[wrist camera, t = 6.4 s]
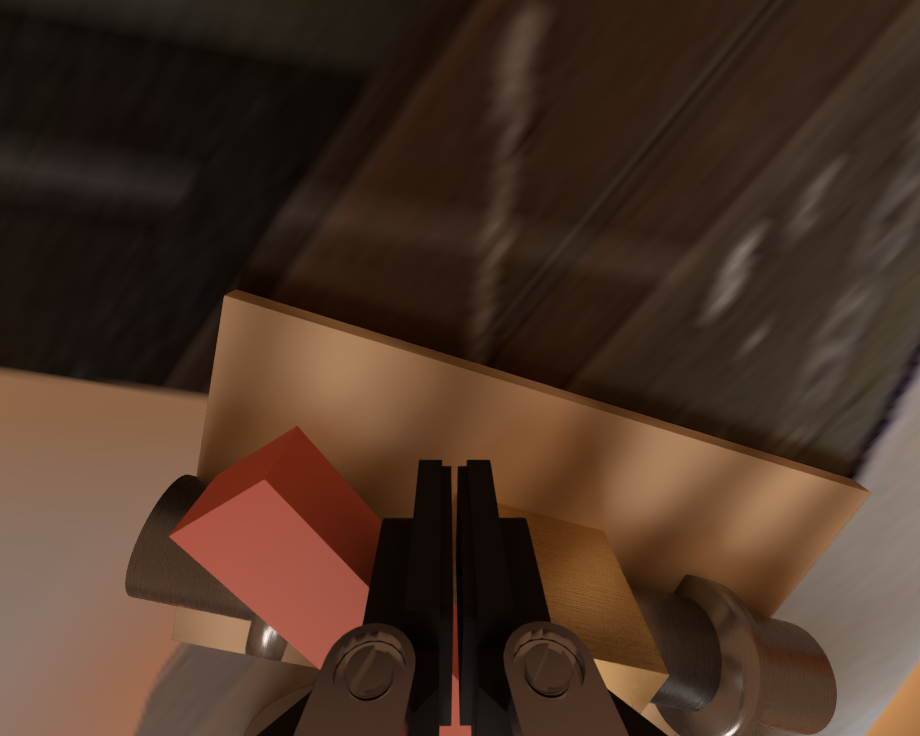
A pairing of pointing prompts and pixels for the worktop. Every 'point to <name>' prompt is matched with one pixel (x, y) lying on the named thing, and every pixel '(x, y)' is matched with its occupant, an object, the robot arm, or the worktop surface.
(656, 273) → the worktop surface
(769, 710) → the valve
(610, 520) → the mount board
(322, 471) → the lever
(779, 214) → the worktop surface
